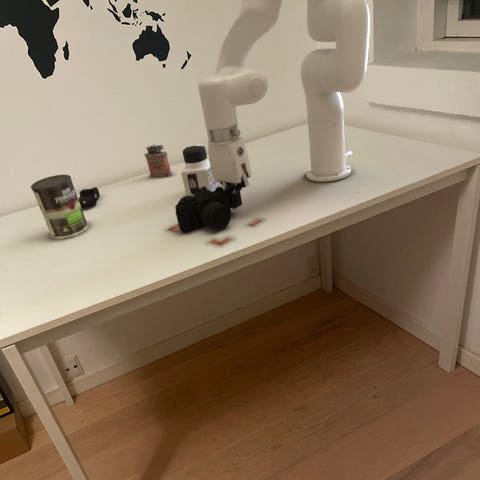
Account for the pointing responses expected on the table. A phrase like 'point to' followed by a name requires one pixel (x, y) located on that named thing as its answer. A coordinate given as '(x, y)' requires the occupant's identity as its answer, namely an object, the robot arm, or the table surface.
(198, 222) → the film camera
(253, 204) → the table surface
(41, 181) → the coffee can
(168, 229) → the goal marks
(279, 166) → the table surface
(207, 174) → the container
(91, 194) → the toy car
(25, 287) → the table surface
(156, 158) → the perfume bottle
